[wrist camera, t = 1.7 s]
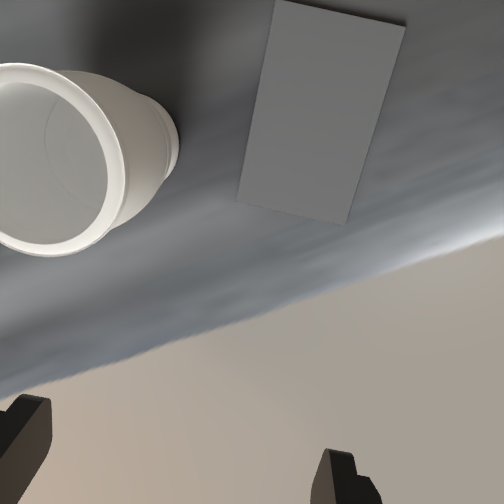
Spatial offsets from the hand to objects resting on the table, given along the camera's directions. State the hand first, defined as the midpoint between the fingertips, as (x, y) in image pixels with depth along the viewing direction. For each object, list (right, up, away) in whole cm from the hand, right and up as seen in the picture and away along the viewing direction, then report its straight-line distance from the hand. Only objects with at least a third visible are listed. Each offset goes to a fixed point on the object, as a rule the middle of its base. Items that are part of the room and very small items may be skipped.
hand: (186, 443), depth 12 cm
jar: (-9, +15, +24) cm, 30 cm away
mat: (+7, +16, +22) cm, 28 cm away
